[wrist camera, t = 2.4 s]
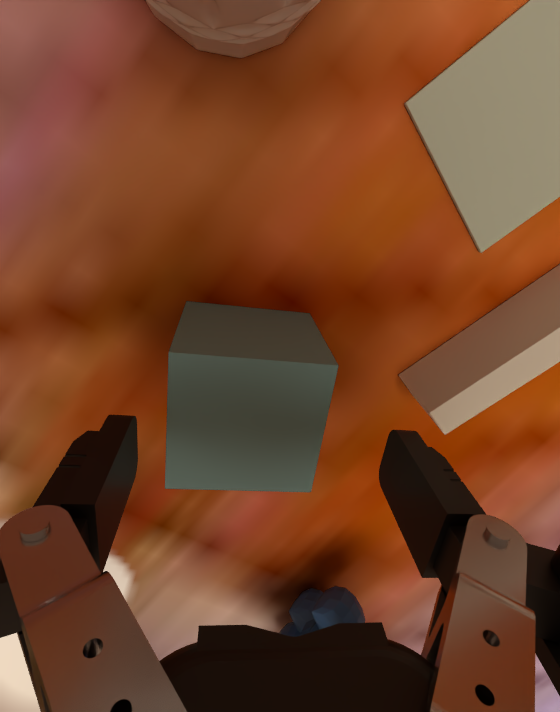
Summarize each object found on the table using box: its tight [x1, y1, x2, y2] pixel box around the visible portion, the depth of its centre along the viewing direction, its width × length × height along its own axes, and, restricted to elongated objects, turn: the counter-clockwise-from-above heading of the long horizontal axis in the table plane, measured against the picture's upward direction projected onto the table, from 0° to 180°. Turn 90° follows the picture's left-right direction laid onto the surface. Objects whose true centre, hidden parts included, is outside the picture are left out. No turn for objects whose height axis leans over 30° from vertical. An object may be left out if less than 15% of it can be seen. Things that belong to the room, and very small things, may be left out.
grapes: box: [279, 586, 365, 637], centre depth 21 cm, size 12×7×12 cm, turn 158°
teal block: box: [165, 301, 338, 492], centre depth 16 cm, size 6×6×6 cm
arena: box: [398, 0, 560, 434], centre depth 15 cm, size 17×14×4 cm
